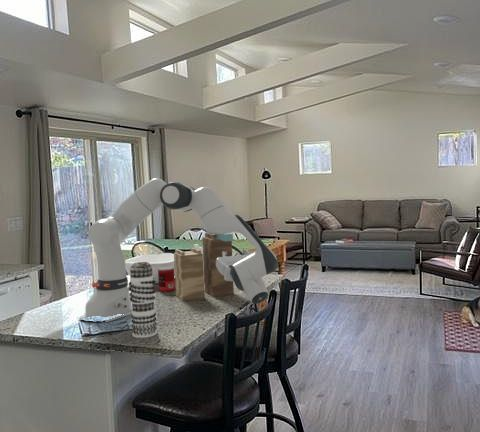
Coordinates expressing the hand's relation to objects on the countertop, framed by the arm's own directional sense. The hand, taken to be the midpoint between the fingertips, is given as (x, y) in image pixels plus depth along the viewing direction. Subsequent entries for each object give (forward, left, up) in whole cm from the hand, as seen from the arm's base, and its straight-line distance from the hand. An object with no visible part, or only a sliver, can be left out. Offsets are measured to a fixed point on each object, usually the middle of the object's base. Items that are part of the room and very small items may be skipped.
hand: (234, 251), depth 214 cm
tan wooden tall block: (+5, +25, -22) cm, 34 cm away
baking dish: (+33, +61, -22) cm, 73 cm away
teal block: (+13, +13, +4) cm, 19 cm away
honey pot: (+48, +41, -22) cm, 67 cm away
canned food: (+15, +43, -22) cm, 51 cm away
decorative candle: (-49, +14, -22) cm, 55 cm away
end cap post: (+15, +15, -22) cm, 31 cm away
